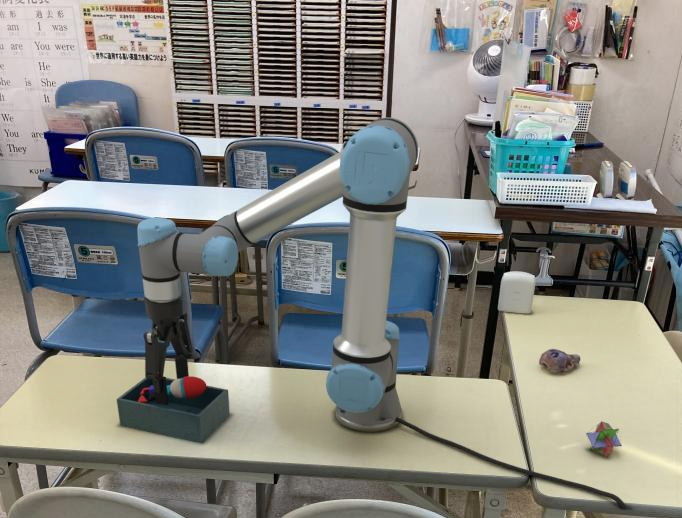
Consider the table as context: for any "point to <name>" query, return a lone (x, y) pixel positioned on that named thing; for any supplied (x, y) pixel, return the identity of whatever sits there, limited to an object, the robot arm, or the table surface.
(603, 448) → the geometric puzzle
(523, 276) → the photo printer
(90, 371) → the table surface
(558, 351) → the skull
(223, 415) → the tote
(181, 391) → the toy figure
